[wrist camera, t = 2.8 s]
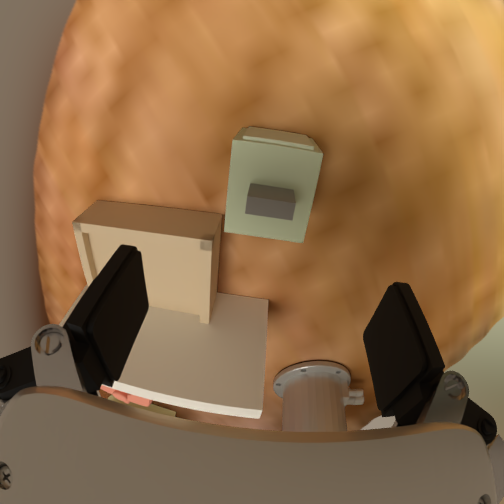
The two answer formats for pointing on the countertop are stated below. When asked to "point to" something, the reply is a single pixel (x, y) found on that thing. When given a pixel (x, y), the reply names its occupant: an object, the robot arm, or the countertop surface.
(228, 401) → the beige slab with panel
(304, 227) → the cabinet box
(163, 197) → the countertop surface
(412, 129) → the countertop surface
